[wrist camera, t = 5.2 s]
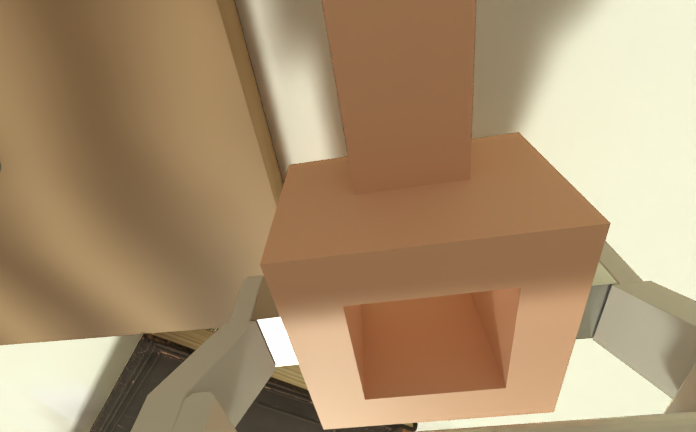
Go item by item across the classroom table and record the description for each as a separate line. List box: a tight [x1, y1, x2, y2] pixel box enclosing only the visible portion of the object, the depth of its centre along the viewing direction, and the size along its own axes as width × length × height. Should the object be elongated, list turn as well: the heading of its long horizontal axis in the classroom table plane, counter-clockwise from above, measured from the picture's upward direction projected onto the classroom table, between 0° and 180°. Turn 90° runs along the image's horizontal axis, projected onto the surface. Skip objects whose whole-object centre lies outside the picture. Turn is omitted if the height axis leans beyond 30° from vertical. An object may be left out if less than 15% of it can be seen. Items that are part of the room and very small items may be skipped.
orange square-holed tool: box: [260, 0, 610, 430], centre depth 8 cm, size 6×13×4 cm, turn 9°
